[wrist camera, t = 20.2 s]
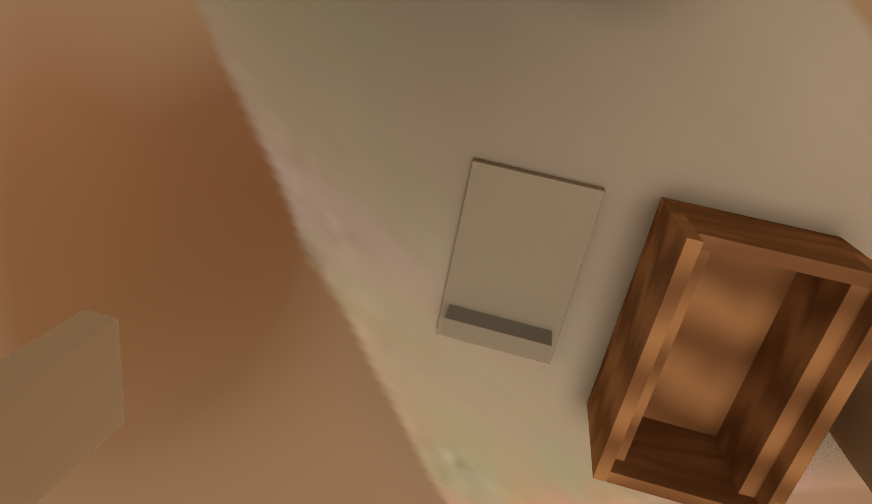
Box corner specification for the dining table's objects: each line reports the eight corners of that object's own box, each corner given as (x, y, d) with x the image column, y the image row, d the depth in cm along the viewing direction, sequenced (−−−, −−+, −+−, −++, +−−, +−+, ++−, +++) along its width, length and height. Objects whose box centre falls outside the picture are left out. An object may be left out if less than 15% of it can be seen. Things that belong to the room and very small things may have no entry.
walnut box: (661, 197, 42) (687, 238, 34) (841, 237, 41) (912, 290, 32) (587, 404, 50) (593, 477, 42) (734, 444, 49) (770, 528, 40)
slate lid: (475, 156, 44) (468, 168, 41) (603, 186, 43) (607, 200, 40) (439, 325, 51) (430, 348, 47) (549, 354, 50) (549, 380, 46)
